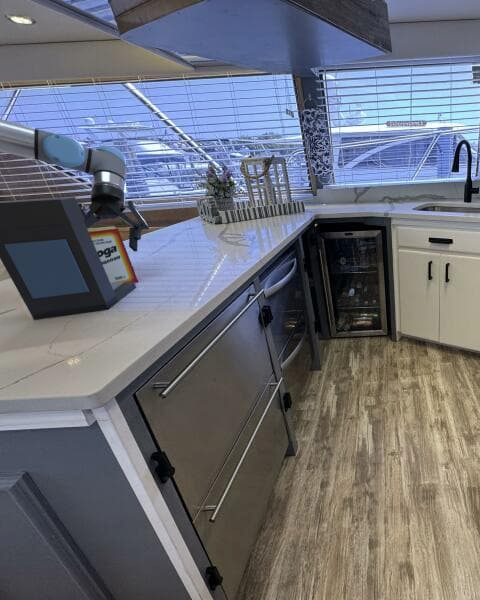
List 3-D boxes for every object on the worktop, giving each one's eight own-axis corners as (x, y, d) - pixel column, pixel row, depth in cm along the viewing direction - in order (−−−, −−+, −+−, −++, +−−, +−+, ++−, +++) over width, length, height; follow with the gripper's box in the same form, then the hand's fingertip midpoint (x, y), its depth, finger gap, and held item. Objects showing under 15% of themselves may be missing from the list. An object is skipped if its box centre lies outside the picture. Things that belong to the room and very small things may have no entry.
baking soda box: (134, 277, 98) (113, 224, 92) (138, 281, 94) (117, 226, 88) (93, 286, 92) (68, 230, 86) (96, 291, 88) (70, 232, 81)
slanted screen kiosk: (32, 320, 71) (-32, 204, 61) (74, 294, 86) (28, 197, 76) (107, 310, 75) (58, 199, 65) (136, 287, 90) (99, 193, 80)
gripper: (162, 197, 104) (162, 253, 97) (67, 203, 97) (59, 264, 90) (150, 180, 97) (149, 239, 90) (47, 185, 90) (37, 249, 83)
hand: (104, 251), depth 90 cm, fingers open, 13 cm apart
